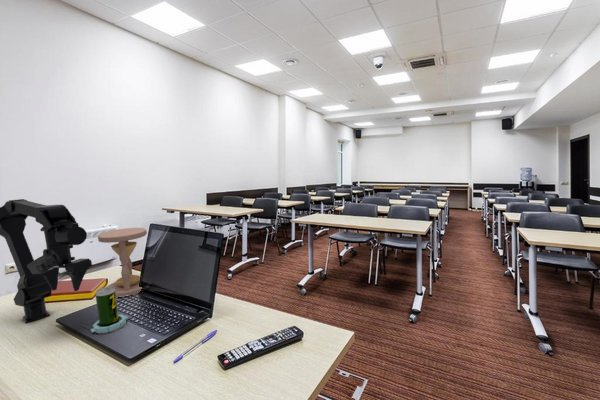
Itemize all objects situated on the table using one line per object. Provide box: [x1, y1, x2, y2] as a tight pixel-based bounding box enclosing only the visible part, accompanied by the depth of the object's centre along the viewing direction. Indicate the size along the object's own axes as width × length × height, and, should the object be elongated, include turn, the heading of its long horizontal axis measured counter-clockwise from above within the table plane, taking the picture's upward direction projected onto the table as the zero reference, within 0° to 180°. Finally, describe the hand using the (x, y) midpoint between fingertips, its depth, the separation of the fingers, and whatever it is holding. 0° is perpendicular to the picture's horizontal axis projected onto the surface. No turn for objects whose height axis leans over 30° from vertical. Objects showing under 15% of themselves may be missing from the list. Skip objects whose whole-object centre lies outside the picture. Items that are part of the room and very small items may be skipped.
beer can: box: [95, 285, 119, 327], centre depth 97 cm, size 5×5×12 cm
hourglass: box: [97, 227, 148, 297], centre depth 126 cm, size 18×18×25 cm
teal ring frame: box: [90, 314, 129, 334], centre depth 97 cm, size 9×10×2 cm
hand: (65, 290), depth 98 cm, fingers open, 9 cm apart
